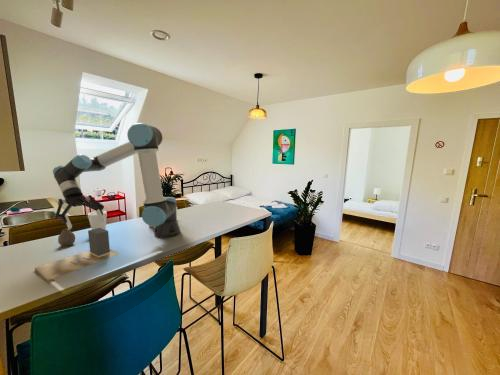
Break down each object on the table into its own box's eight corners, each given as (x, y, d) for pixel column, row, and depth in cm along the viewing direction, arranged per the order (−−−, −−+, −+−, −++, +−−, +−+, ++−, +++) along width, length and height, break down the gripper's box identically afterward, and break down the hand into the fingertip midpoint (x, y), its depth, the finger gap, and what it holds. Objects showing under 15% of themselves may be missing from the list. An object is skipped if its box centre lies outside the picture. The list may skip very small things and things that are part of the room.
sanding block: (110, 253, 102) (108, 230, 100) (98, 257, 98) (96, 234, 96) (101, 249, 106) (99, 227, 104) (90, 253, 102) (87, 230, 100)
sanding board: (103, 248, 110) (103, 245, 110) (120, 255, 102) (119, 253, 102) (34, 270, 88) (34, 267, 88) (49, 282, 80) (48, 279, 80)
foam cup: (86, 234, 128) (84, 213, 127) (101, 229, 137) (99, 210, 135) (96, 236, 125) (94, 215, 123) (111, 231, 134) (110, 212, 132)
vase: (55, 246, 111) (53, 230, 110) (70, 241, 118) (68, 226, 116) (64, 248, 109) (62, 232, 108) (78, 243, 115) (77, 228, 114)
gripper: (96, 192, 122) (112, 221, 117) (37, 199, 101) (53, 235, 96) (100, 184, 119) (116, 214, 113) (40, 189, 98) (56, 226, 92)
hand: (87, 224), depth 104 cm, fingers open, 13 cm apart
